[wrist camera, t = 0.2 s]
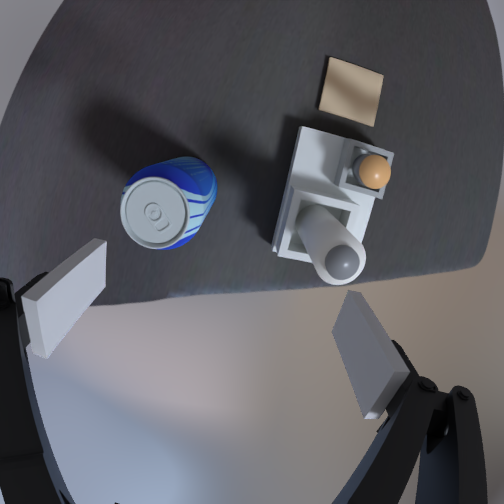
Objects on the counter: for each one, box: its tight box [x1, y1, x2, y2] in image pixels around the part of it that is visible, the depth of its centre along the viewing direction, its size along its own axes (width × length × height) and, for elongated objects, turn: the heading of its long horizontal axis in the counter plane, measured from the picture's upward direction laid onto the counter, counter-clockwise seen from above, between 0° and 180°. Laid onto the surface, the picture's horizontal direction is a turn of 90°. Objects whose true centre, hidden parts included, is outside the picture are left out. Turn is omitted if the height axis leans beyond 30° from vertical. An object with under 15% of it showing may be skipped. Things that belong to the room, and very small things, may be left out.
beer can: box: [120, 156, 217, 250], centre depth 34 cm, size 8×8×16 cm
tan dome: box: [352, 154, 391, 189], centre depth 34 cm, size 4×4×3 cm
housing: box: [271, 126, 394, 263], centre depth 39 cm, size 17×12×6 cm
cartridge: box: [295, 205, 366, 285], centre depth 34 cm, size 5×5×14 cm
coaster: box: [318, 57, 383, 127], centre depth 36 cm, size 8×8×1 cm
